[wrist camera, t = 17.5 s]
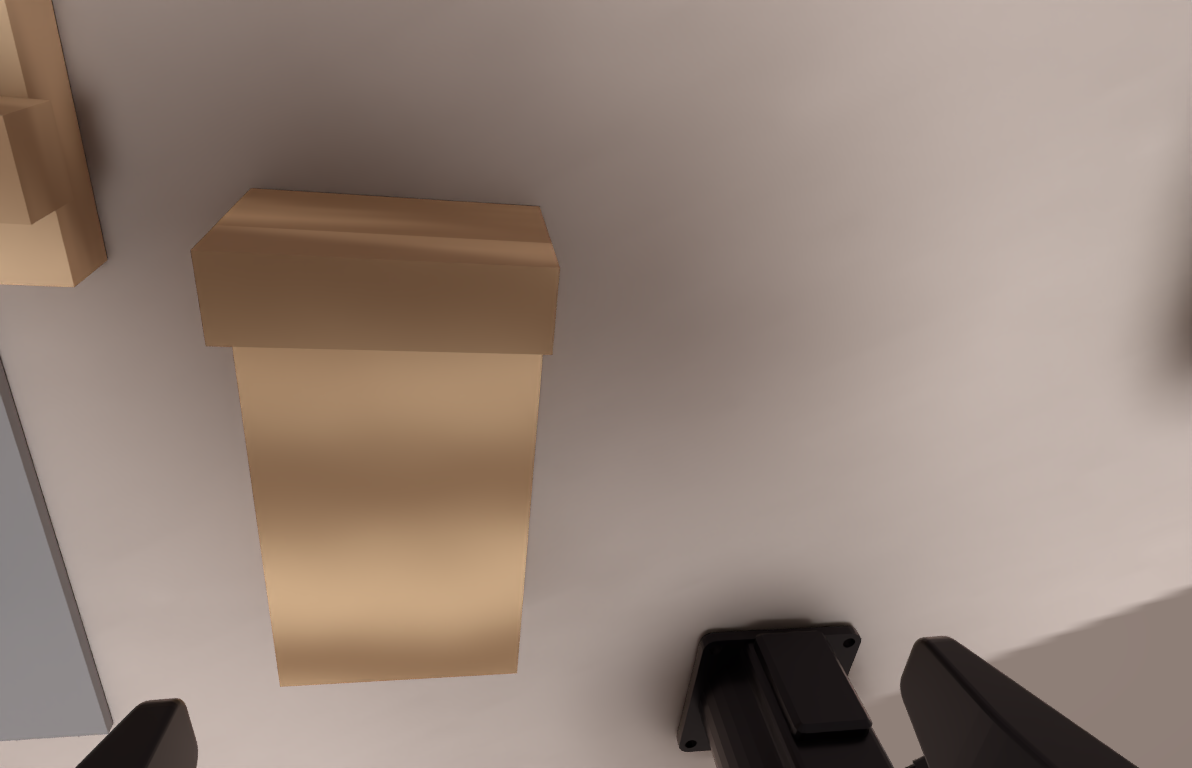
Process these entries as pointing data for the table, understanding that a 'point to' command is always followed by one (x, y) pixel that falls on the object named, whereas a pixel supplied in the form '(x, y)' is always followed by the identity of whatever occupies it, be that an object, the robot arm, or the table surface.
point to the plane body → (386, 421)
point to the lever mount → (41, 158)
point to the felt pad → (38, 610)
